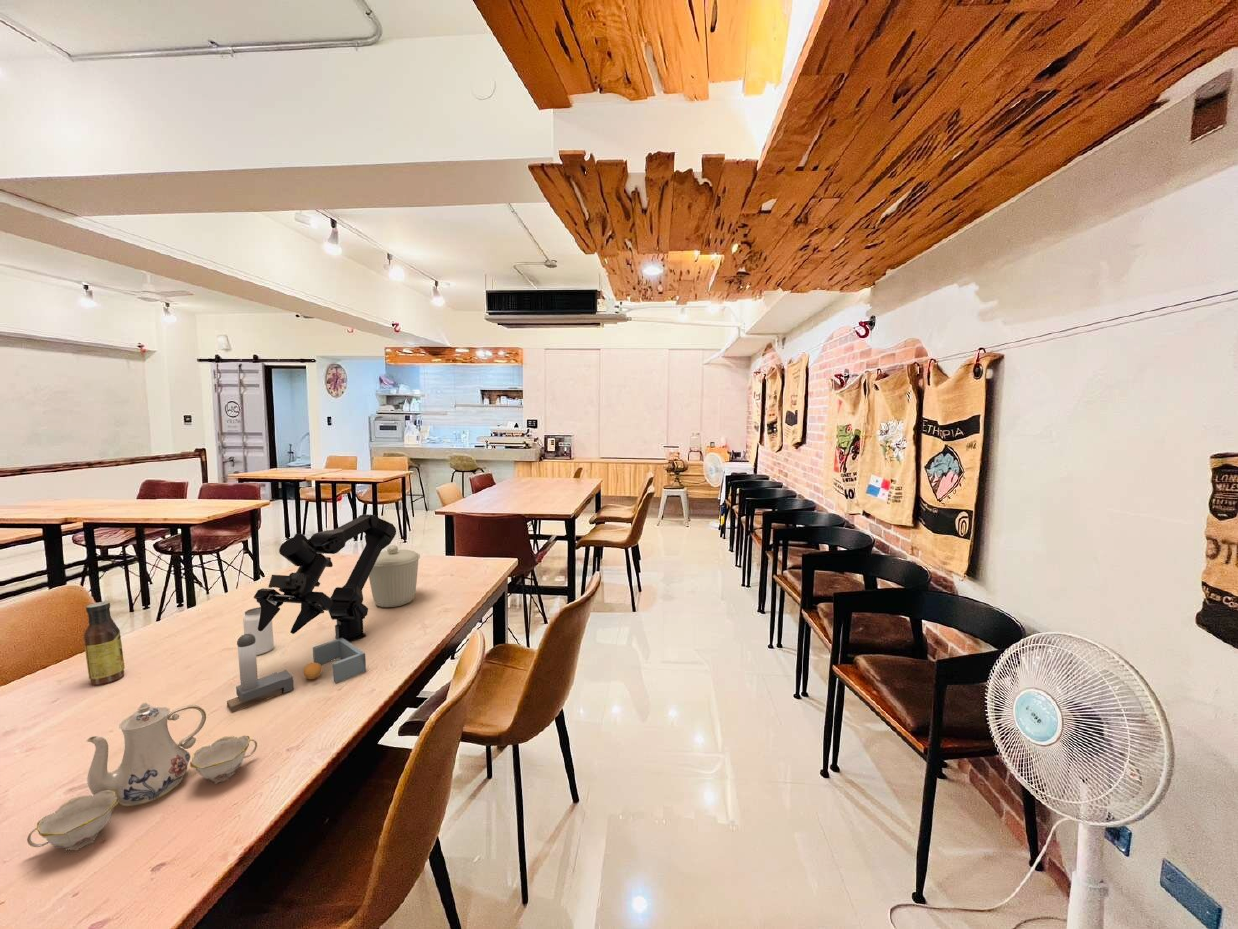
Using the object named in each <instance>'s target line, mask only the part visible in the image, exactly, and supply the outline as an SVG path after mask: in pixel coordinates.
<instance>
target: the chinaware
mask: <svg viewBox="0 0 1238 929" xmlns="http://www.w3.org/2000/svg"><path fill="white" fill-rule="evenodd" d="M190 709H193V710H197V711H198V712H199V713H200V715H201V720H200V723H199V724H198V726H197V727H196V728H195V729H194V730H193V732H191V734H189V735H187V736H186V737H184V738H182V739H181V740H180V741H179V742H178V743H176V742H175V740H174V739H173V737H172V736H171V734H170V731H169V727H168V721H177V720H178V719H179V718H180V715H179V714H178V712H182V711H186V710H190ZM206 721H207V713H206V711H205V709H204V708H202V707H201V706H199V705H196V704H195V705H194V704H189V705H185V706H181V707H179V708H176V709H174V710H172V711H171V709H170V707H166V706H162V707H161V706H158V707H155V706H151V704H148V703H147V702H142V703H141V705H140V706H139V707H138V708H137V711H134V713H133V714H132V715H129V716H128V717H127V718H125V719H123V720H122V721H121V722H120V723H119V724H118V729H120V730H121V731H122V735H123V737H124V750H123V751H124V752H123V754H122V755H123V756H122V759H121V763H120V764H119V766H118V768H117V769H115V770H113V771H112V772H109V771H108V760H109V743H108V741H107V739H105V738H104V737H103V736H99V735H98V736H95V735H94V736H91V737H89V738H87V739H86V742H89V743H91V744H94V747H95V751H94V754H93V757H92V760H91V764H90V767H89V769H88V773H87V778H86V779H87V780H86V782H87V786H88V789H89V791H90V793H91V794H92V795H80V796H77V797H74V798H71V799H70V800H68V801H66V802H65V803H63V804H61V805H60V807H59V808H58V809H57V810H56V811H55V812H53V813H50V814H48V815H45V816H43V818H42V819H40V820H39V821H38V822H37V824H36V827H35V828H33V829H32V831H30V833H29V834H28V835H27V839H26V841H27V844H28V845H29V846H31V847H33V848H41V847H44V846H46V845H48V844H50V845H51V846H53V847H54V848H65V849H64V851H67V849H68V850H69V849H70V851H71V850H72V851H76V850H77V851H79V848H80V849H81V848H84V847H85V845H86V846H87V845H89V844H92V843H94V842H95V839H96V838H97V836H98V835H99V834H100V832H101V831H102V830H103V829H104V828H105V827H106V825H108V824H107V823H108V822H109V821H110V818H111V817H112V814H113V810H114V807H116V806H117V804H118V805H119V806H121V807H127V808H130V807H131V808H133V807H138V806H142V805H145V804H148V803H151V802H153V801H156V800H158V799H160V798H162V797H164V796H165V795H167V794H169V793H171V792H172V791H173V790H174V789H176V788H177V787H178V786H179V785H180V784H181V783H182V781H183V779H184V776H185V774H186V772H187V770H188V765H190V768H192V769H196V770H197V773H198V774H199V775H200V776H201V777H202V778H204V779H207V780H210V781H212V782H213V783H215V785H216V784H217V783H221V782H224V781H228V780H229V779H230V778H231V777H232V776H233V775H234V774H235V773H237V772H236V770H237V769H238V768H239V767H240V766H241V765H242V764H243V761H244V759H246V758H249V757H251V756H252V755H253V754H254V753H255V752H256V750H257V749H258V748H257V747H258V742H257V741H256V740H255V739H252V738H251V739H250V736H249V735H242V736H238V737H236V736H233V735H230V736H229V735H228V736H223V737H221V738H219V739H217V740H215V741H214V742H213V743H211V745H207V746H202V747H200V748H198V749H197V750H196V751H194V753H193V755H192V759H191V754H190V753H189V751H188V750H189V749H190V748H192V747H193V746H194V745H195V743H196V741H197V738H196V737H194V736H196V735H197V734H198V733H199V732H200V731H201V730H202V729H203V727H204V726H205V723H206ZM250 742H253V743H254V748H253V750H251V752H250V753H249V754H247V755H246V752H247V751H248V749H249V746H250ZM187 749H188V750H187ZM190 760H191V761H190ZM189 762H190V763H189ZM36 831H37V832H38V834H39V836H40V837H42V838H43V839H46V841H47V842H43V843H36V842H35V843H34V841H32V837H31V836H32V834H33V833H34V832H36ZM83 846H84V847H83Z"/></svg>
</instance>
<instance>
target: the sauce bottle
mask: <svg viewBox="0 0 1238 929" xmlns="http://www.w3.org/2000/svg"><path fill="white" fill-rule="evenodd" d="M85 609H86V610H85V611H86V613H87V616H88V626H87V628H86V630H85V631H84V632H83V639H84V652H85V659H86V667H87V674H88V680H89V681H90V685H93V686H100V685H106V684H110V683H112V682H115V681H117V680H119V679H121V678H122V677H123V676H125V659H124V652H123V643H122V637H121V630H120V629H119V626H118V625H117V624H116V622H115V621H114V619H113V618H112V616H111V611H110V610H111V604H110V601H99V602H94V603H91V604H88V605H86V606H85Z"/></svg>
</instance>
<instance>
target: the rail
mask: <svg viewBox="0 0 1238 929" xmlns="http://www.w3.org/2000/svg"><path fill="white" fill-rule="evenodd" d="M282 694H283V691H282V688H281V689H278V690H275V691H273V692H270V693H267V694H265V695H262V696H259V697H256V698H254V699H251V700H248V701H246V702H242V701H241V700H240V698H239V697H238V696H236V697H233V698H231V699H228V700H226V707H227V708H228V710H229V711H230V713H234V712H237V711H240V710H242V709H245V708H248V707H250V706H252V705H254V704H255V705H256V704H258V703H261V702H263V701H266V700H269V699H271V698H273V697H276V696H279V695H282Z"/></svg>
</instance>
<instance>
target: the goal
mask: <svg viewBox="0 0 1238 929" xmlns="http://www.w3.org/2000/svg"><path fill="white" fill-rule="evenodd" d="M337 658H338V659H339V660H338V659H337ZM334 659H335V660H337V661H335V660H334ZM312 660H313V662H316V663H319V664H321V665H324V664H327V663H330V662H332V661H335V662H332V674H333V680H332V681H333V683H334V684H338V683H341V682H344V681H346V680H348V679H350V678H354V677H356V676H358V674H359V675H360V674H363V673H366V672H367V664H366V663H367V662H366V661H367V660H366V653H365V652H364V651H363V650H362V649H360V648H358V647H357V646H355V645H353V643H351V642H348V641H346V640H345V639H344V638H339V639H337V638H335V639H334V640H331V641H328V642H324V643H322V644H319V645H315V646H313V647H312ZM331 660H332V661H331ZM313 662H312V663H313ZM345 679H346V680H345Z"/></svg>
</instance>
